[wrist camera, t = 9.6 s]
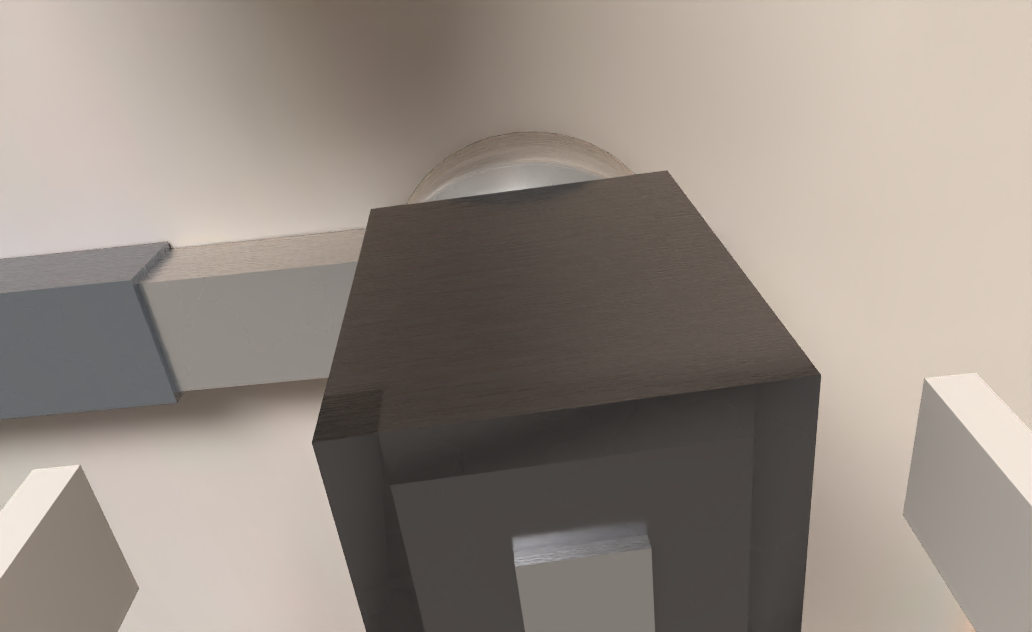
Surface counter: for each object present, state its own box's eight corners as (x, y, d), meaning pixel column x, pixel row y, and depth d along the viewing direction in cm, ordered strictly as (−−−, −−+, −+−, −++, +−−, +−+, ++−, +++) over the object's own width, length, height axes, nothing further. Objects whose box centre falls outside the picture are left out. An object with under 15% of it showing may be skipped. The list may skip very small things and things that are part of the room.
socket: (421, 447, 20) (402, 775, 12) (371, 209, 17) (308, 455, 10) (673, 413, 20) (800, 720, 13) (667, 170, 17) (828, 386, 10)
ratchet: (-161, 446, 24) (-379, 629, 18) (-303, 222, 20) (-628, 357, 14) (671, 370, 22) (723, 541, 16) (665, 116, 19) (727, 220, 13)
